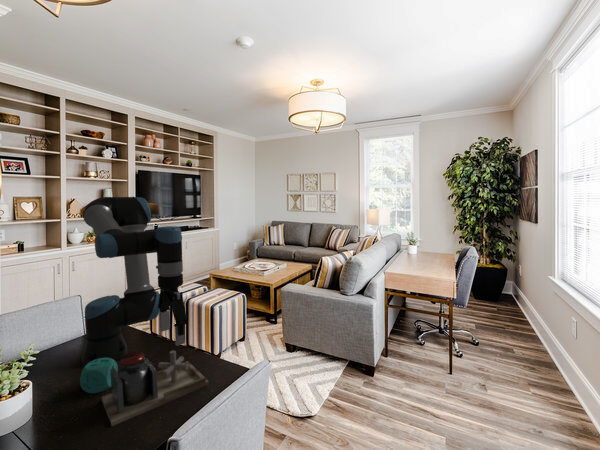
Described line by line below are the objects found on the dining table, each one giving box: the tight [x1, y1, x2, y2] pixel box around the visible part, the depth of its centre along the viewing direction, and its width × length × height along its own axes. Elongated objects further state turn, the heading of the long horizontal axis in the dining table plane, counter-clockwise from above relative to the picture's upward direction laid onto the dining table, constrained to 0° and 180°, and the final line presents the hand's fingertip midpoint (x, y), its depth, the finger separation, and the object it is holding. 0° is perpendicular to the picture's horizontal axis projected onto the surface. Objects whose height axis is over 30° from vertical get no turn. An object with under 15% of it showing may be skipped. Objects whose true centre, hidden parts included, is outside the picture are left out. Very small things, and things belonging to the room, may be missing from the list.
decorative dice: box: [79, 358, 119, 394], centre depth 101 cm, size 8×8×8 cm
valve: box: [110, 351, 158, 414], centre depth 93 cm, size 10×10×14 cm
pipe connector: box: [157, 350, 189, 382], centre depth 101 cm, size 10×10×10 cm
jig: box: [101, 360, 210, 427], centre depth 97 cm, size 15×28×3 cm, turn 132°
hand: (172, 336), depth 100 cm, fingers open, 13 cm apart
